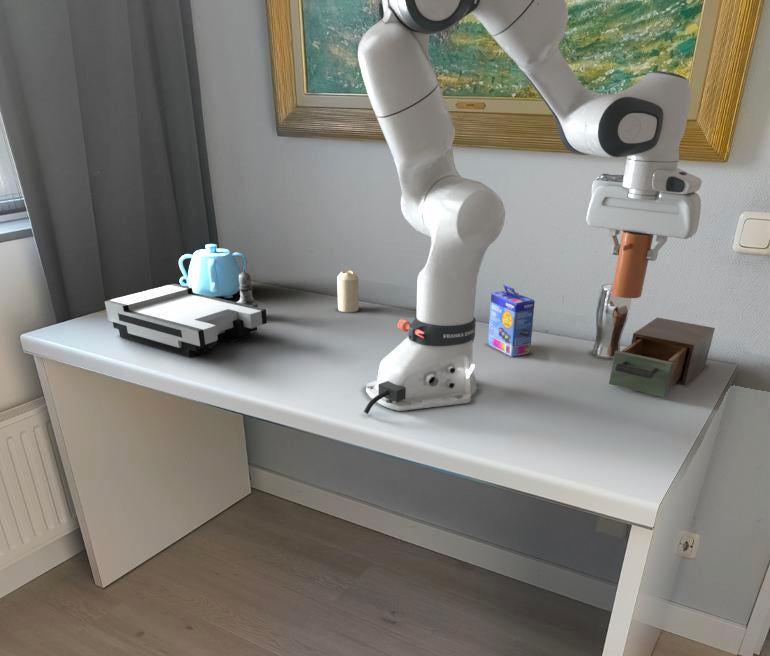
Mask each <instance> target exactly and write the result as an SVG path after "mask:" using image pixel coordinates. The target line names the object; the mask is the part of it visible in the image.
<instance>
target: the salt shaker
mask: <svg viewBox="0 0 770 656" xmlns="http://www.w3.org/2000/svg"><path fill="white" fill-rule="evenodd" d="M251 281H252V280H251V275H250V274H249V273H248V272H247V271H245V270H244V269H243V273H241V274H240V275H239V284H240V287H239V288H238V289H239V295H240V297H239V300H237V301H236V302H237V303H241V304H245V305H250V306H254V307H258V306H259V305H258V304H259V301H258V300H256V299H254V296H253V289H254V287H253V286H252V282H251ZM258 308H259V307H258Z"/></svg>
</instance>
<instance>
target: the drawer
mask: <svg viewBox="0 0 770 656" xmlns="http://www.w3.org/2000/svg"><path fill="white" fill-rule="evenodd" d="M631 343H632V342H631ZM631 343H630V344H629V345H627V346H626V347H624V348H623V349H622V350H620V351H616V352H615V353H614V359H612V364H611V365H612V366H611V371H610V376H609V382H608V384H609V385H612V386H616V387H619V388H620V387H621V388H623V389H629V390H632V391H637V392H641V393H644V394H650V395H653V396H658V397H662V398H665V397H666V396H667V392H668V390H669V389H670V388H671V387H672V386H673V385H674V384H676V383H675V382H676V381H678V380H679V379H680V378H681V377H682V376H683V374H684V370H685V366H686V362H687V357H688V353H689V349H690V348H688V347H683V346H678V345H673V344H668V343H663V342H658V341H653V340H648V339H643V338H639V339H638V340H636V341H635V342H633V343H632V344H631Z"/></svg>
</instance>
